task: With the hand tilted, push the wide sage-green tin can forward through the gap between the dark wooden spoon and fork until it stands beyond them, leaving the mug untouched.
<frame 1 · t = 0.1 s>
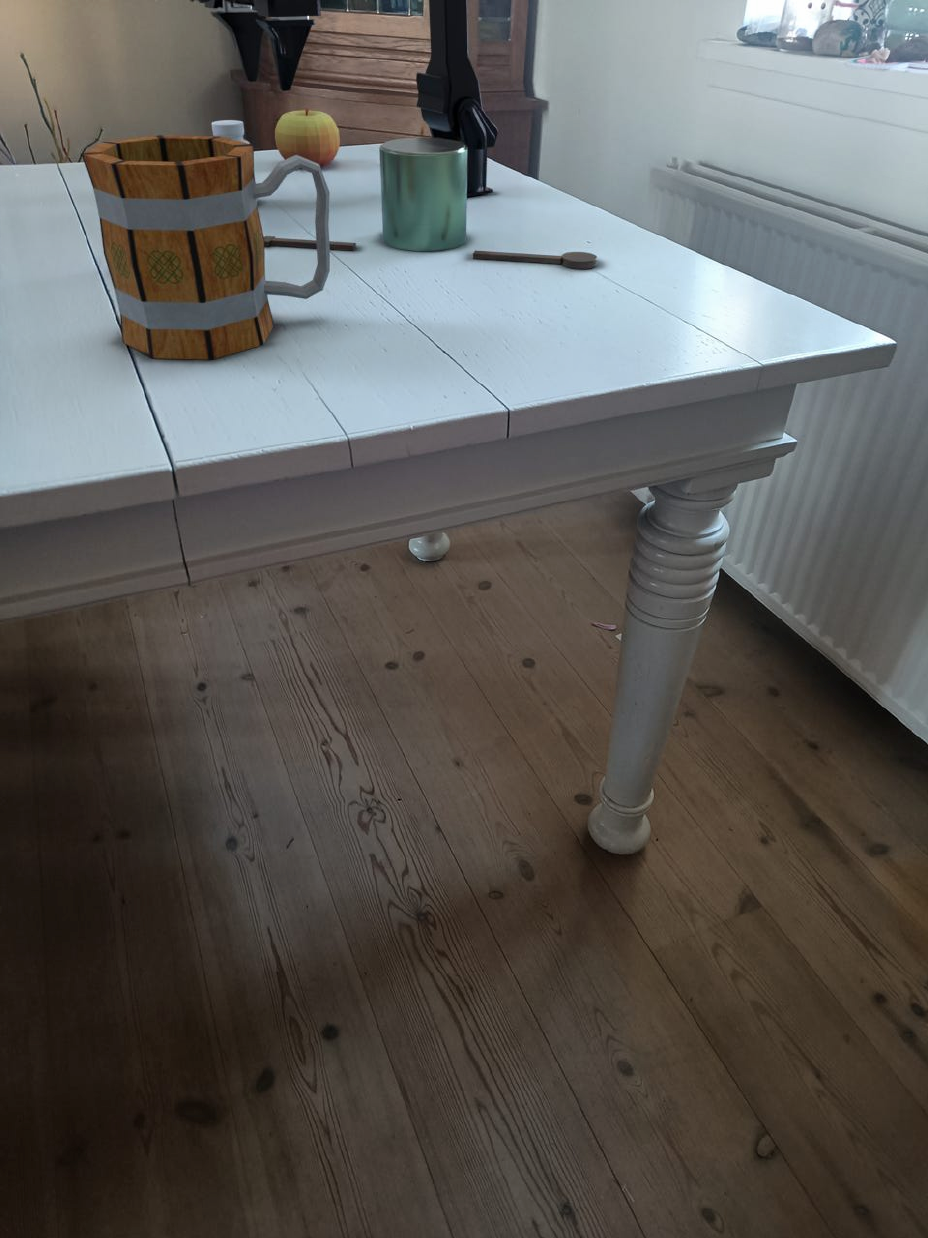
hand: (268, 85, 106), 15 cm above the table, tool pointing down, fingers open, 9 cm apart
spoon: (534, 260, 101), on the table
mug: (234, 331, 82), on the table
pill bottle: (238, 205, 121), on the table
can: (424, 239, 107), on the table
apple: (309, 166, 141), on the table
napkin ring: (180, 223, 113), on the table
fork: (296, 245, 105), on the table
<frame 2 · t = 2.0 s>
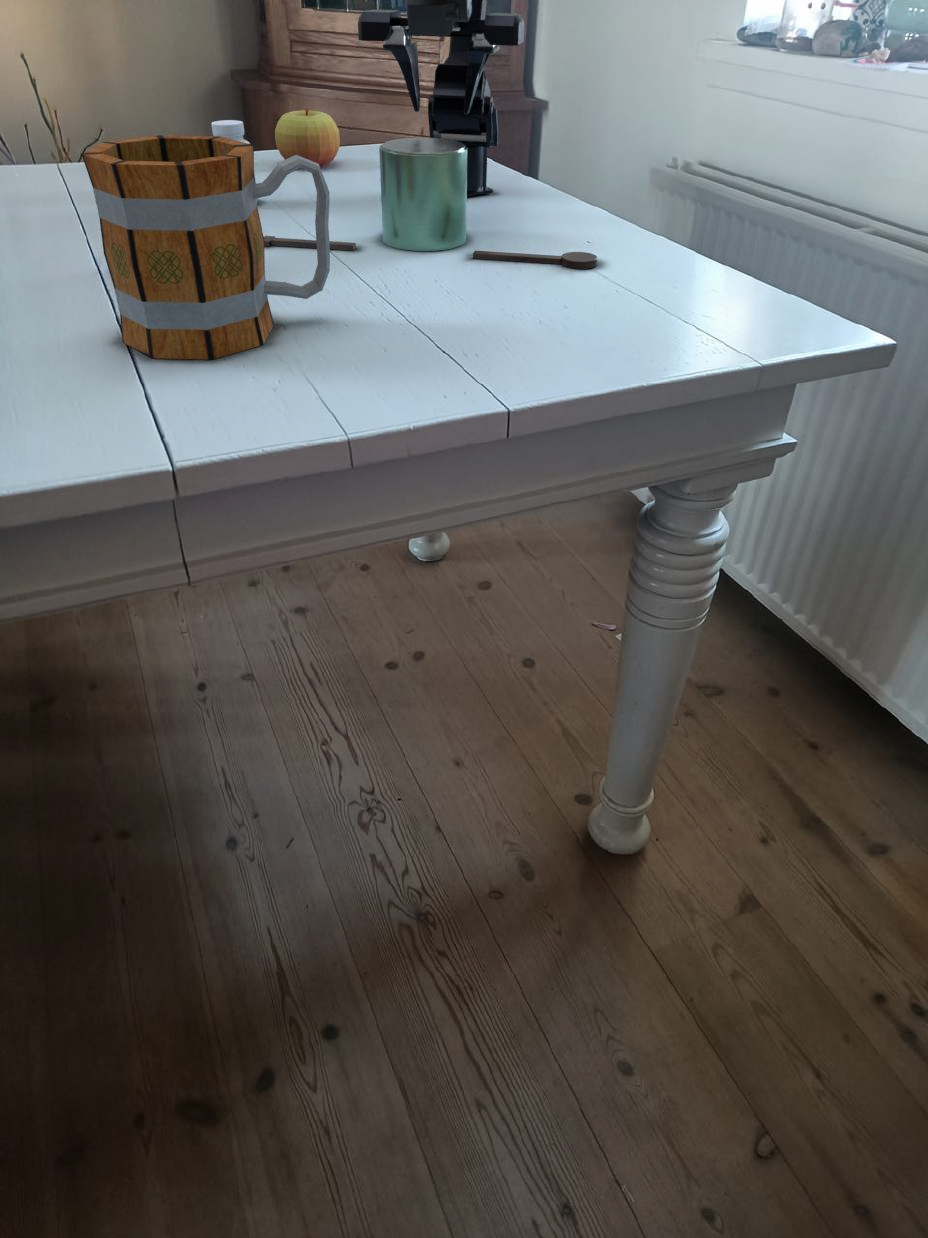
hand: (441, 112, 109), 12 cm above the table, tool pointing down, fingers open, 6 cm apart
nothing on the table moved.
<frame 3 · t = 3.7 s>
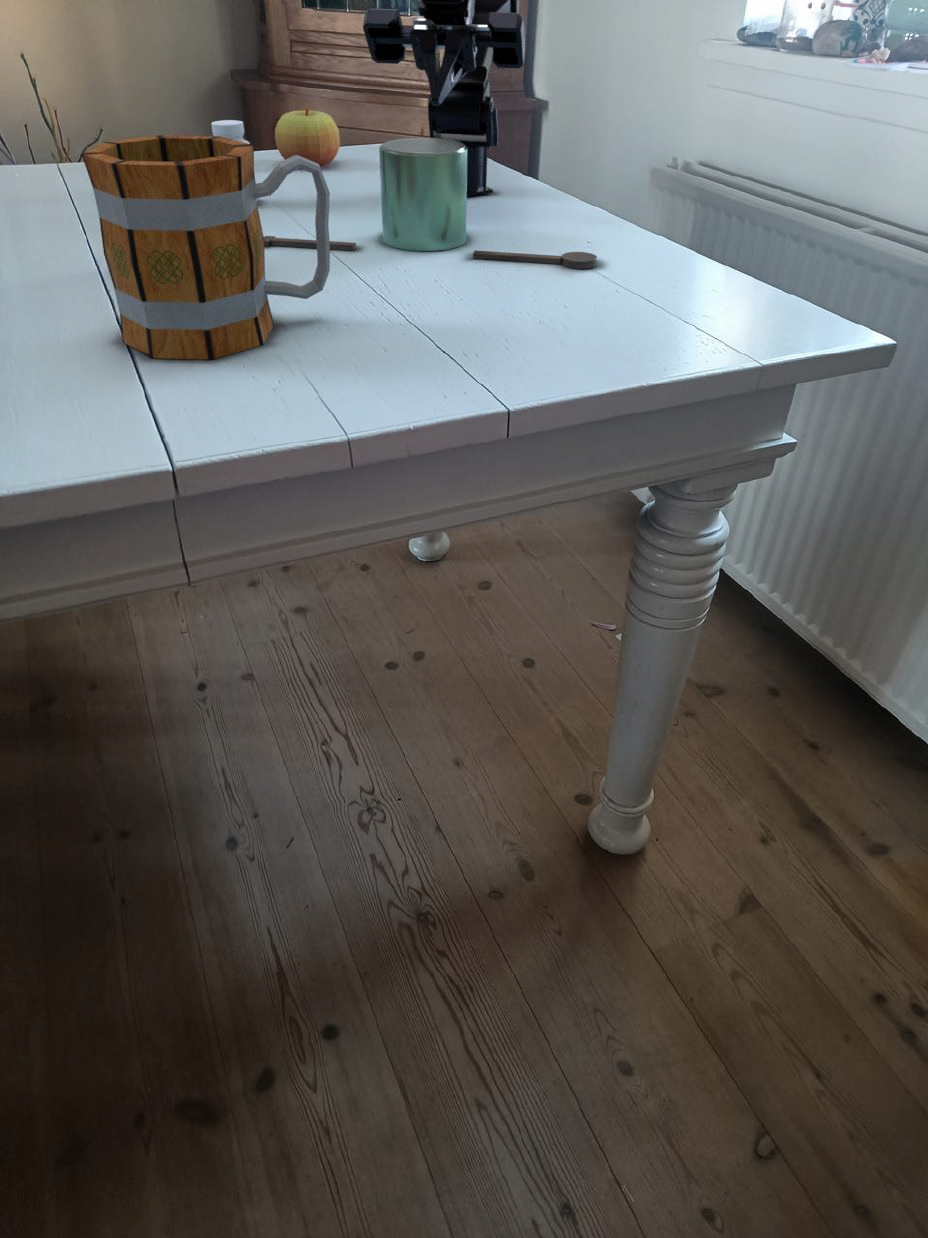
hand: (435, 102, 105), 13 cm above the table, tool tilted 45°, fingers closed
nothing on the table moved.
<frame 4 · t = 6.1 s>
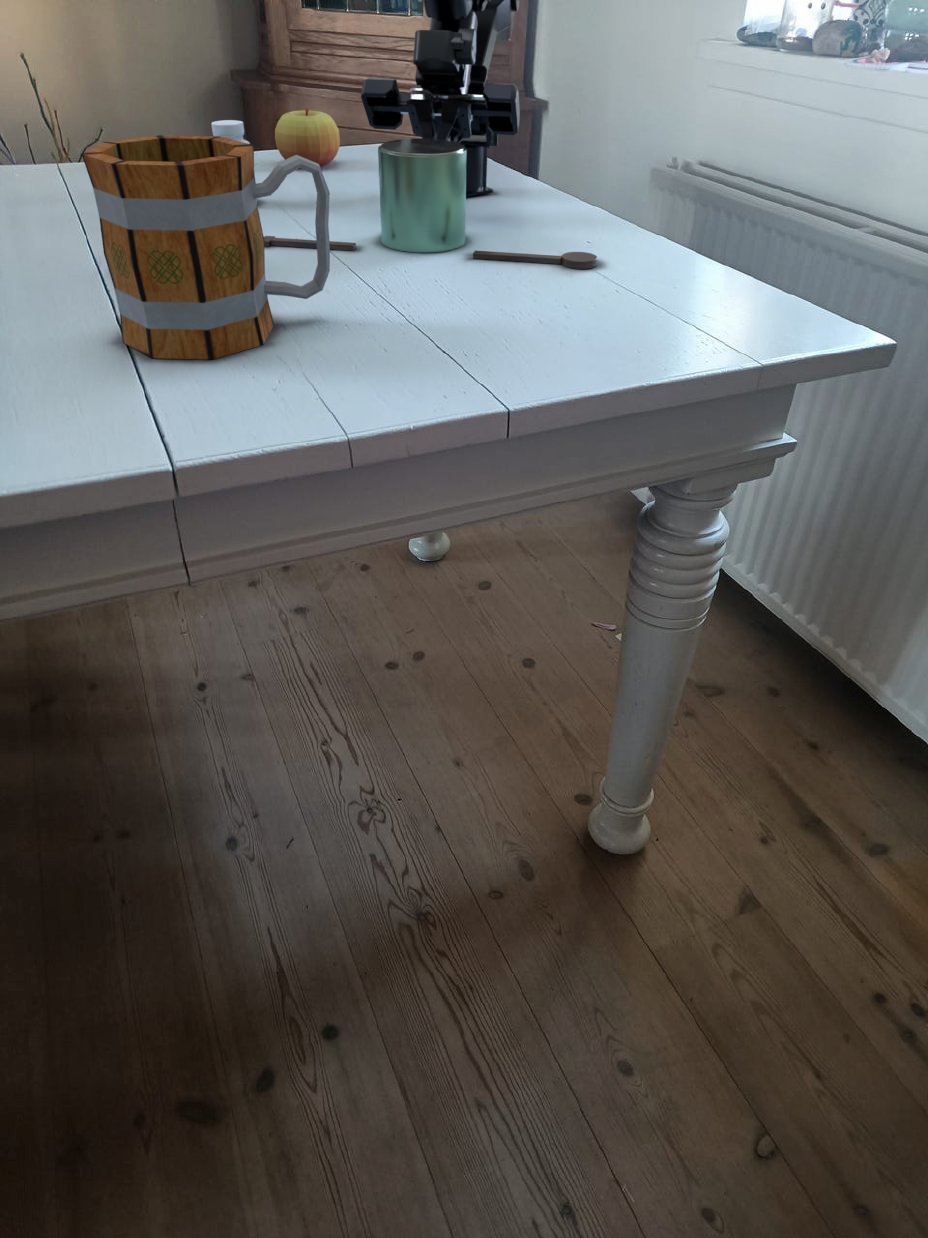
hand: (431, 170, 107), 7 cm above the table, tool tilted 45°, fingers closed, pressing on can
can: (423, 240, 107), on the table, touching gripper
everything else where it was.
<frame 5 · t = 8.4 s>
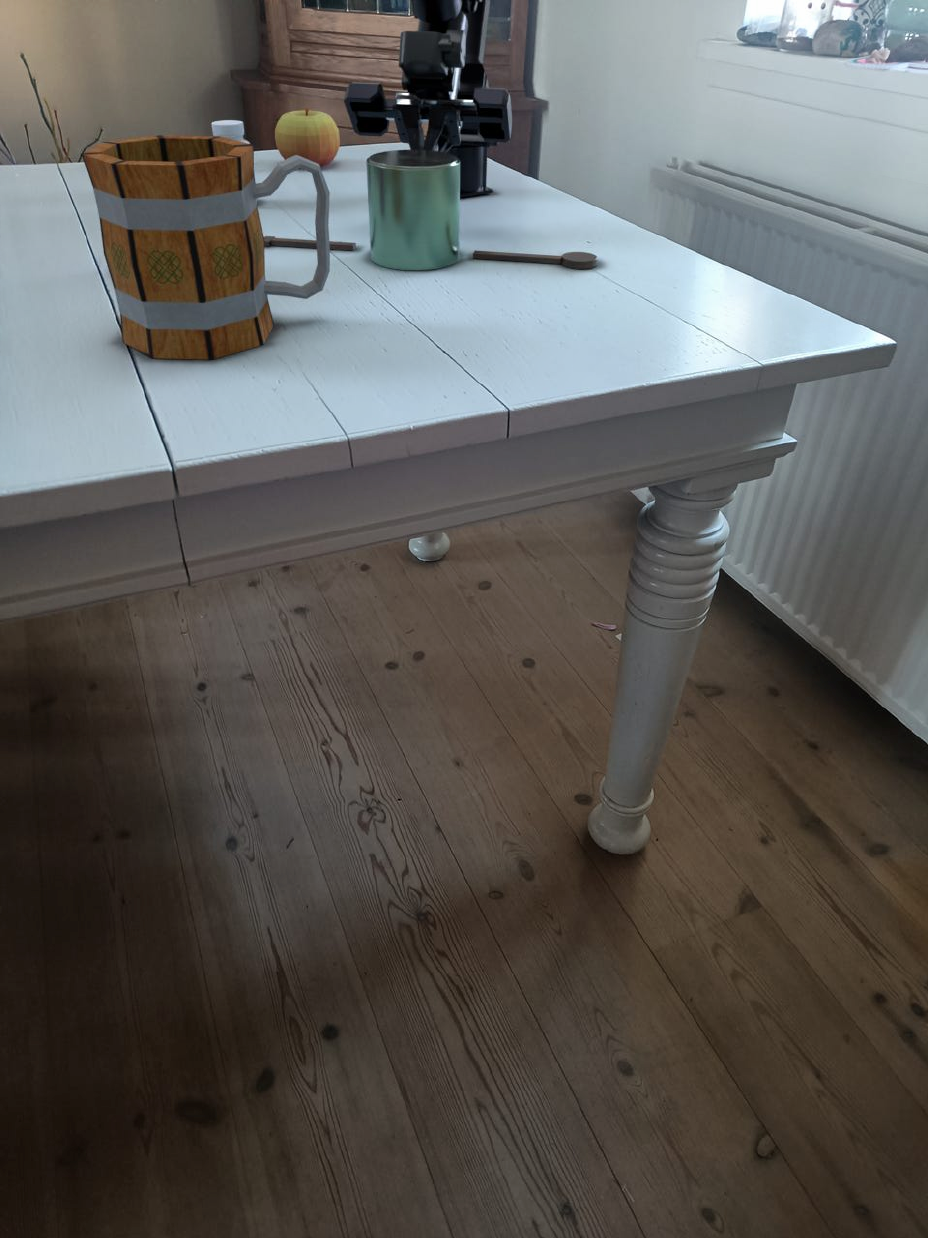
hand: (418, 178, 101), 7 cm above the table, tool tilted 45°, fingers closed, pressing on can
can: (415, 257, 101), on the table, touching gripper
everything else where it was.
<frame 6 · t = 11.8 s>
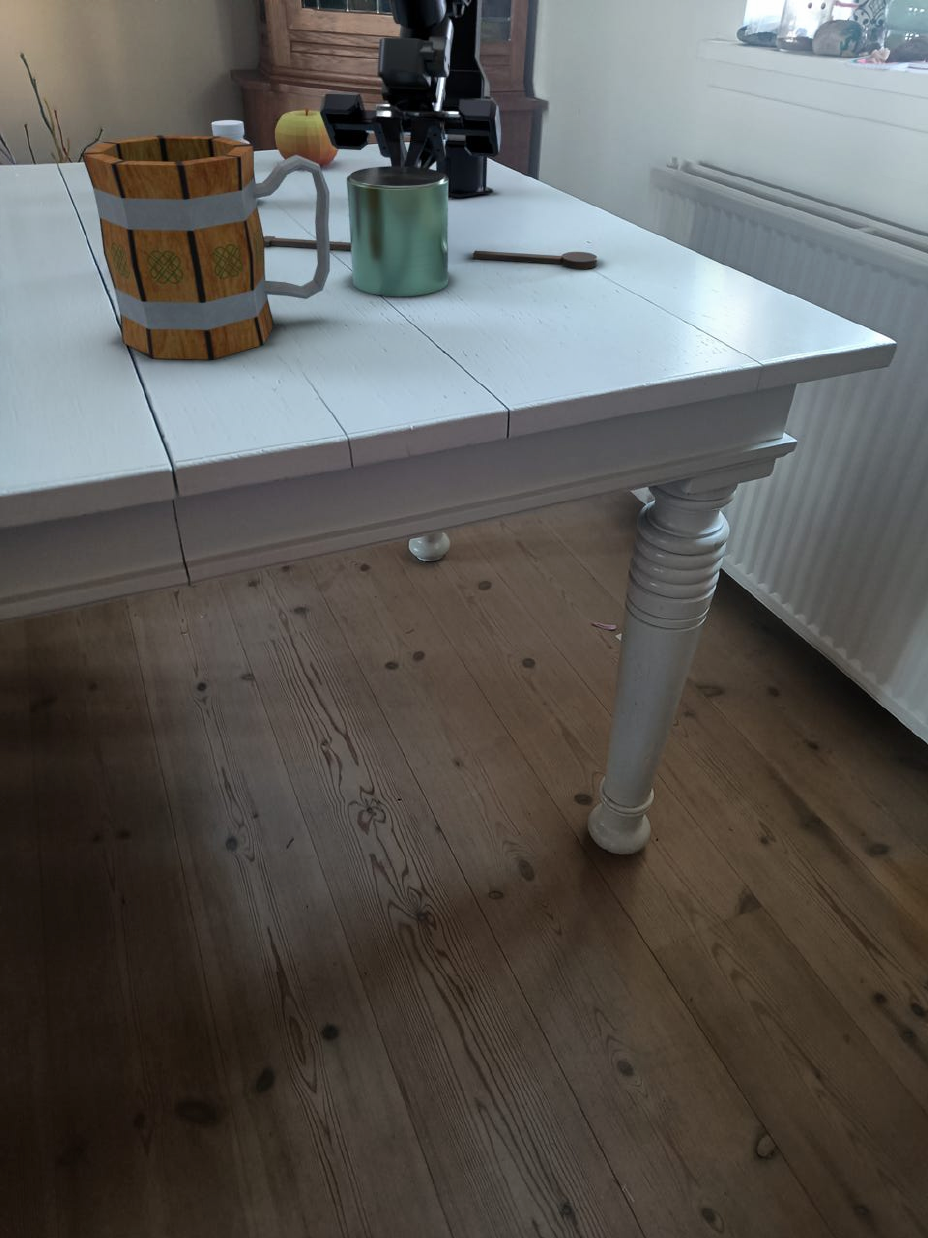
hand: (400, 196, 94), 7 cm above the table, tool tilted 45°, fingers closed
can: (400, 281, 94), on the table, touching gripper
everything else where it was.
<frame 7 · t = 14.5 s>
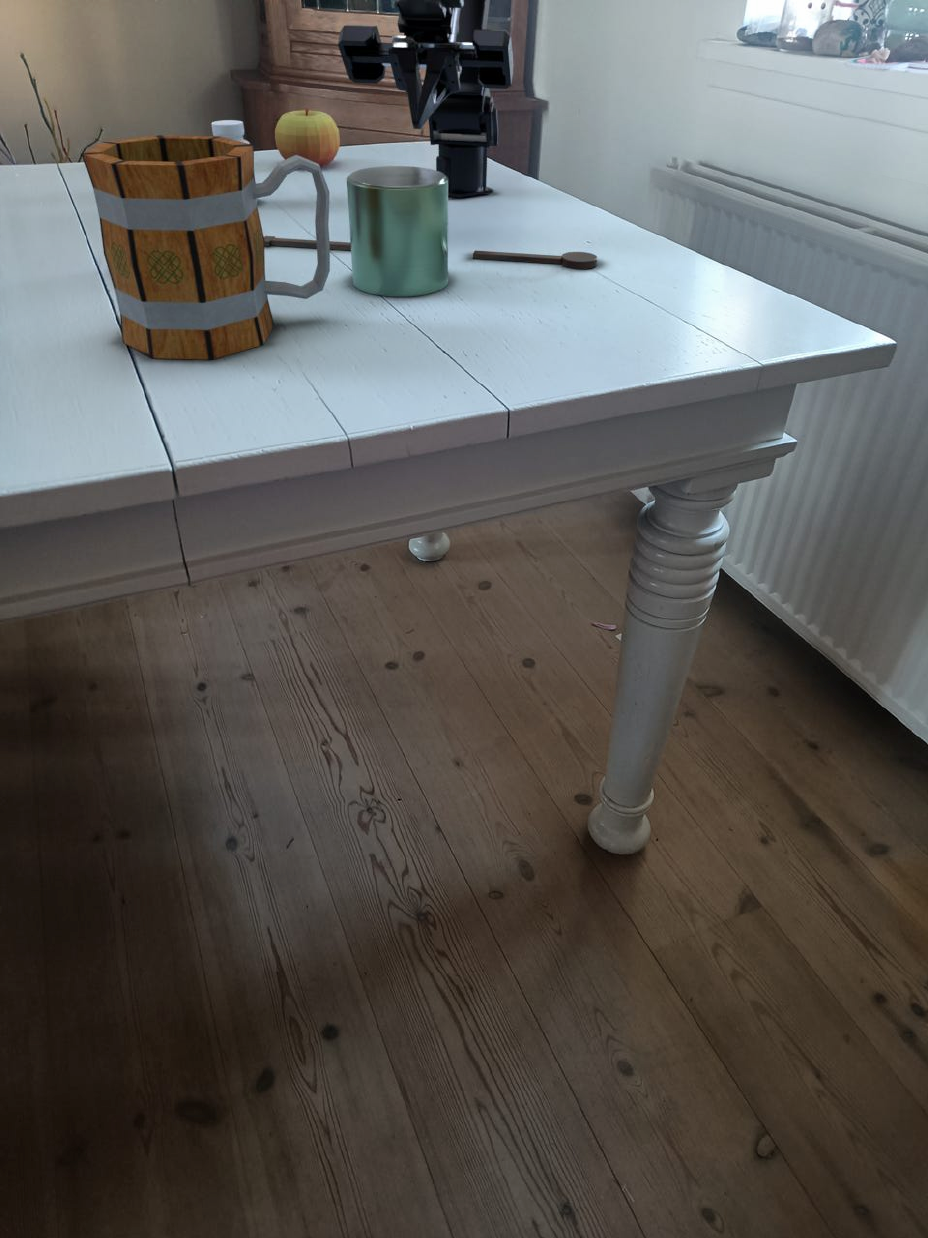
hand: (416, 126, 97), 13 cm above the table, tool tilted 45°, fingers closed
can: (400, 281, 94), on the table
everything else where it was.
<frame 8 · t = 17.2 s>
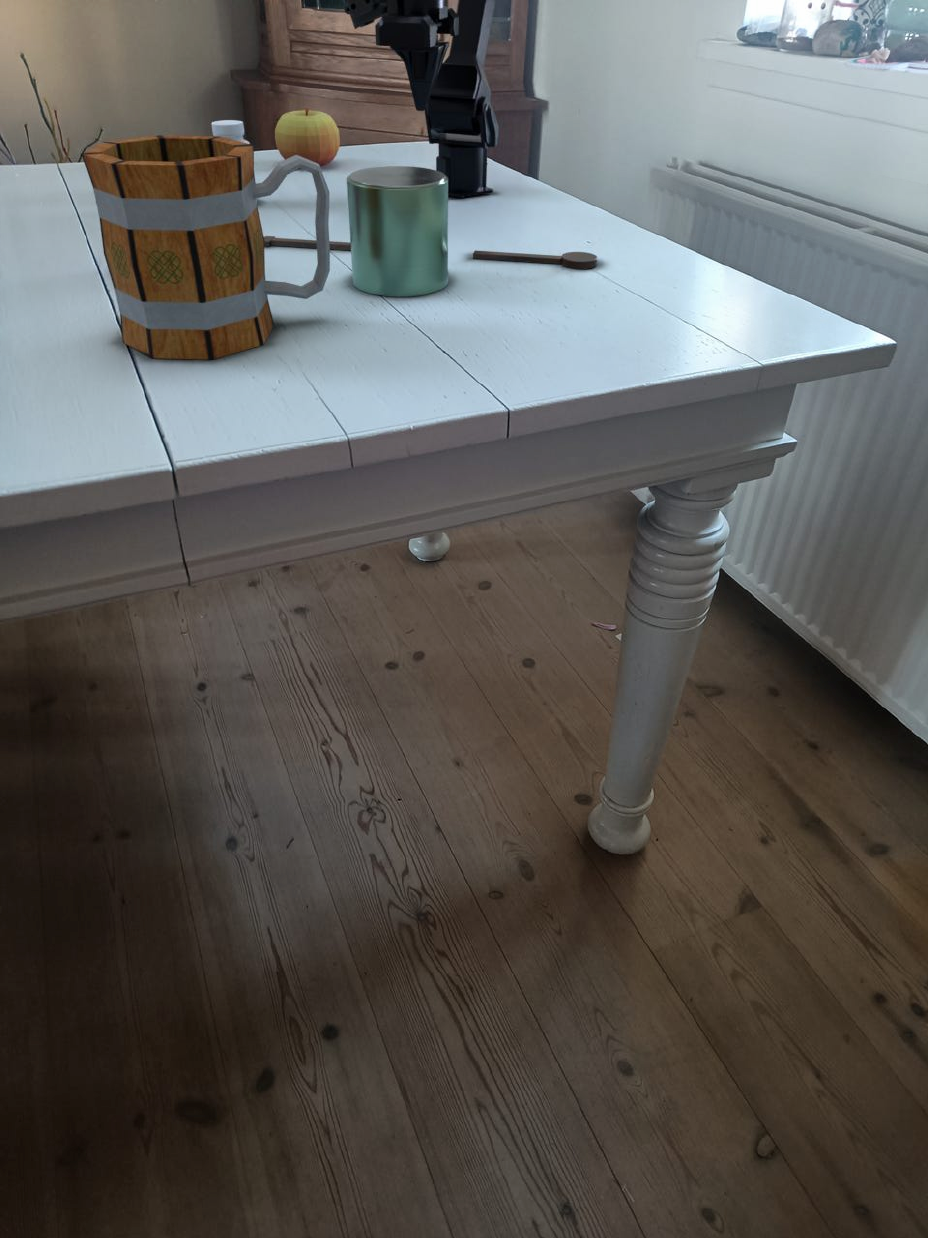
hand: (420, 110, 110), 12 cm above the table, tool pointing down, fingers closed
nothing on the table moved.
at the end: can 3.1 cm from the target spot, on the table; can tilted 0°; mug moved 0.2 cm from its start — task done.
